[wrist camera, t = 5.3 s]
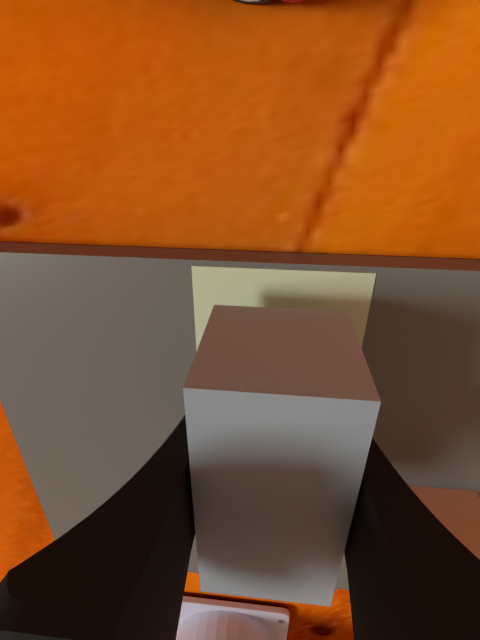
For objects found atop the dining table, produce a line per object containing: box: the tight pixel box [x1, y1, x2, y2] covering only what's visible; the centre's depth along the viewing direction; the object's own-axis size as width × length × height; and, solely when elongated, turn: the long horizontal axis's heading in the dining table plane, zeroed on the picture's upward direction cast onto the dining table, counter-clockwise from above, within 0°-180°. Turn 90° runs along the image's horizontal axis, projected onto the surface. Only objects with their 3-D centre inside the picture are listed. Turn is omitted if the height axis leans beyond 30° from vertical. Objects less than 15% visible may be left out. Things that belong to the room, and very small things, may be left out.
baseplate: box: [0, 242, 480, 590], centre depth 17 cm, size 19×23×1 cm
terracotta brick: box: [408, 485, 480, 560], centre depth 16 cm, size 8×4×4 cm, turn 0°
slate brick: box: [183, 305, 381, 606], centre depth 11 cm, size 8×4×4 cm, turn 0°
